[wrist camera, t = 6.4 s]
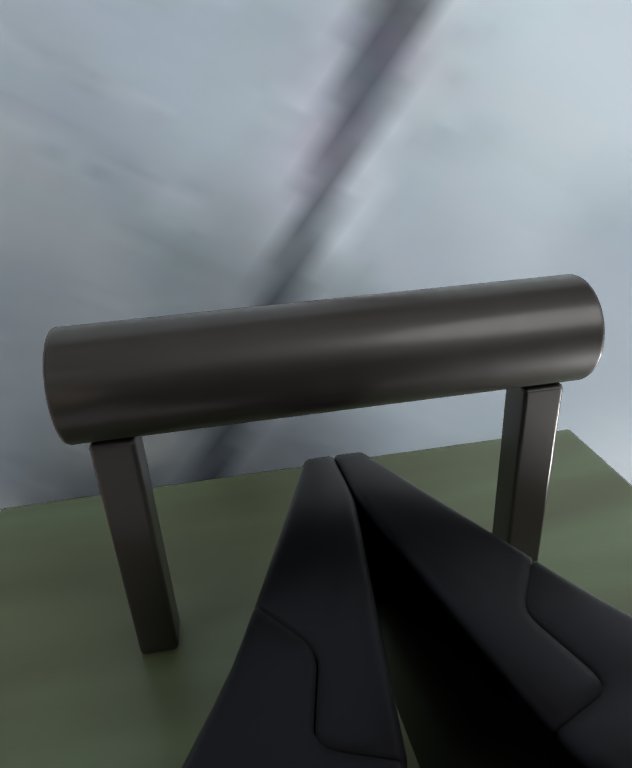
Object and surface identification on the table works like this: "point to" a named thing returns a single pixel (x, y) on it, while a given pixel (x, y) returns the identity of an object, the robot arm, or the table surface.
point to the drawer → (270, 493)
